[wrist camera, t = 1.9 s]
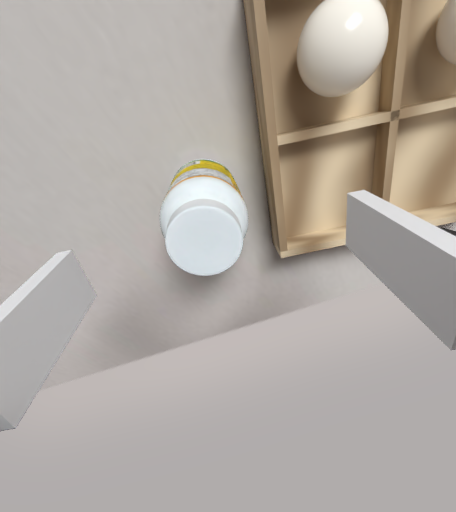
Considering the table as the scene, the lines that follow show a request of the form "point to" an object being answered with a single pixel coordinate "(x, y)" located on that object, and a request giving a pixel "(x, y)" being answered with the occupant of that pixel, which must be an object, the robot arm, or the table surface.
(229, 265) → the supplement bottle
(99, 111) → the table surface
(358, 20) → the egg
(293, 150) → the wooden compartment tray
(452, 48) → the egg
